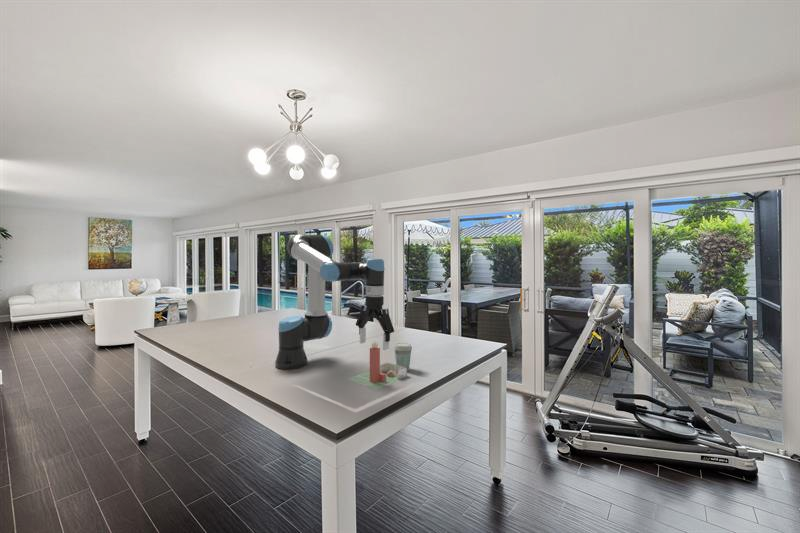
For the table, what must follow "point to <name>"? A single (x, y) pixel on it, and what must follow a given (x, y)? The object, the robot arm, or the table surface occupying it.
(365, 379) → the pitch
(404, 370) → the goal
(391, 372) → the ball
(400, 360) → the coffee cup
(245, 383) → the table surface
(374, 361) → the red inhaler
